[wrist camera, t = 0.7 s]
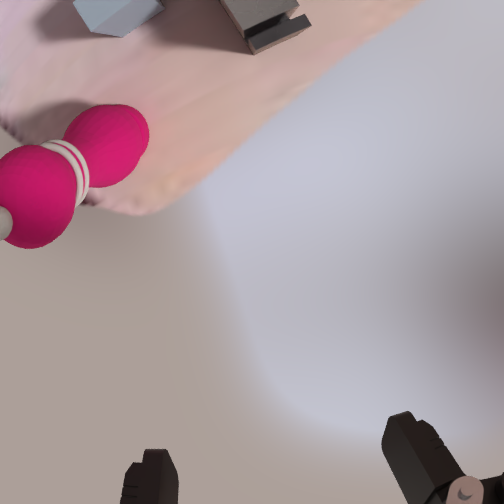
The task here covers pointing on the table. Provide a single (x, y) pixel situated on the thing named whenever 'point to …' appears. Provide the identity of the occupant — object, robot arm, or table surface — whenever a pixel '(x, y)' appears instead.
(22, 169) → the pepper mill
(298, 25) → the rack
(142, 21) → the light grey block
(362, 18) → the table surface
